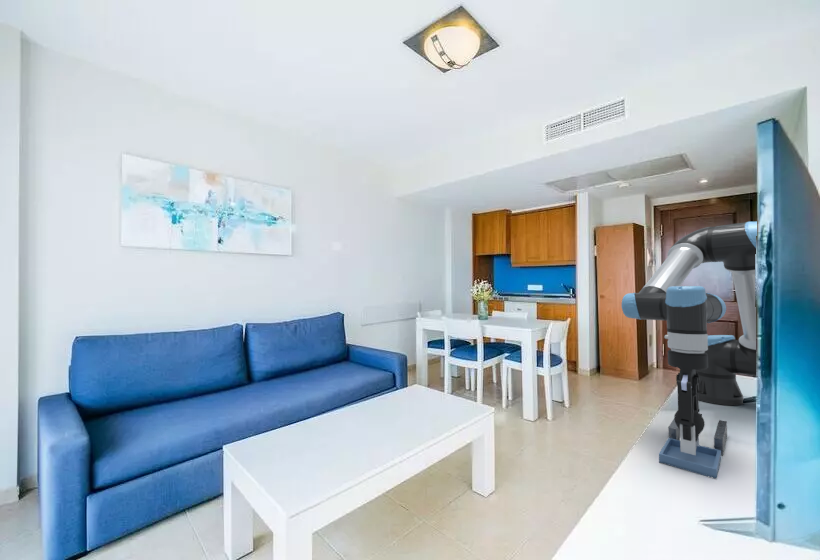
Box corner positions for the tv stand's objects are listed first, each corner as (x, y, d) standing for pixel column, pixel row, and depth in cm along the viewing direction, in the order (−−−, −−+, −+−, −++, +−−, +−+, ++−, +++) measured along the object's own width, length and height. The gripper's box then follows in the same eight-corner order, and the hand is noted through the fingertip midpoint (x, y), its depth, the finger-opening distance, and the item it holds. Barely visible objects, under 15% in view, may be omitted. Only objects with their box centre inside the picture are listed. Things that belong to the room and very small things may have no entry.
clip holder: (678, 425, 103) (678, 411, 103) (727, 436, 95) (726, 421, 95) (668, 442, 91) (668, 427, 92) (723, 456, 84) (722, 439, 84)
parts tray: (668, 445, 90) (668, 437, 90) (721, 458, 83) (720, 450, 83) (659, 462, 81) (658, 453, 81) (716, 479, 74) (716, 469, 74)
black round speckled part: (706, 459, 78) (705, 414, 78) (675, 452, 81) (673, 409, 82) (704, 449, 83) (703, 407, 83) (675, 443, 86) (673, 403, 86)
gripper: (674, 344, 92) (676, 432, 91) (660, 353, 79) (663, 456, 78) (711, 347, 86) (714, 440, 86) (703, 358, 73) (706, 468, 73)
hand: (690, 448), depth 82 cm, fingers closed on black round speckled part, 6 cm apart
